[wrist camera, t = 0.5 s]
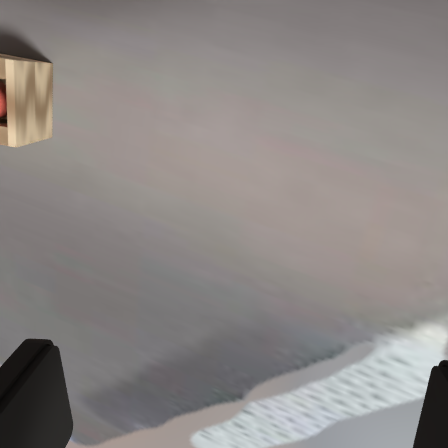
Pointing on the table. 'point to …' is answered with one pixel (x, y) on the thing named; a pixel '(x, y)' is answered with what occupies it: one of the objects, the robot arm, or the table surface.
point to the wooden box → (26, 100)
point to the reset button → (3, 100)
